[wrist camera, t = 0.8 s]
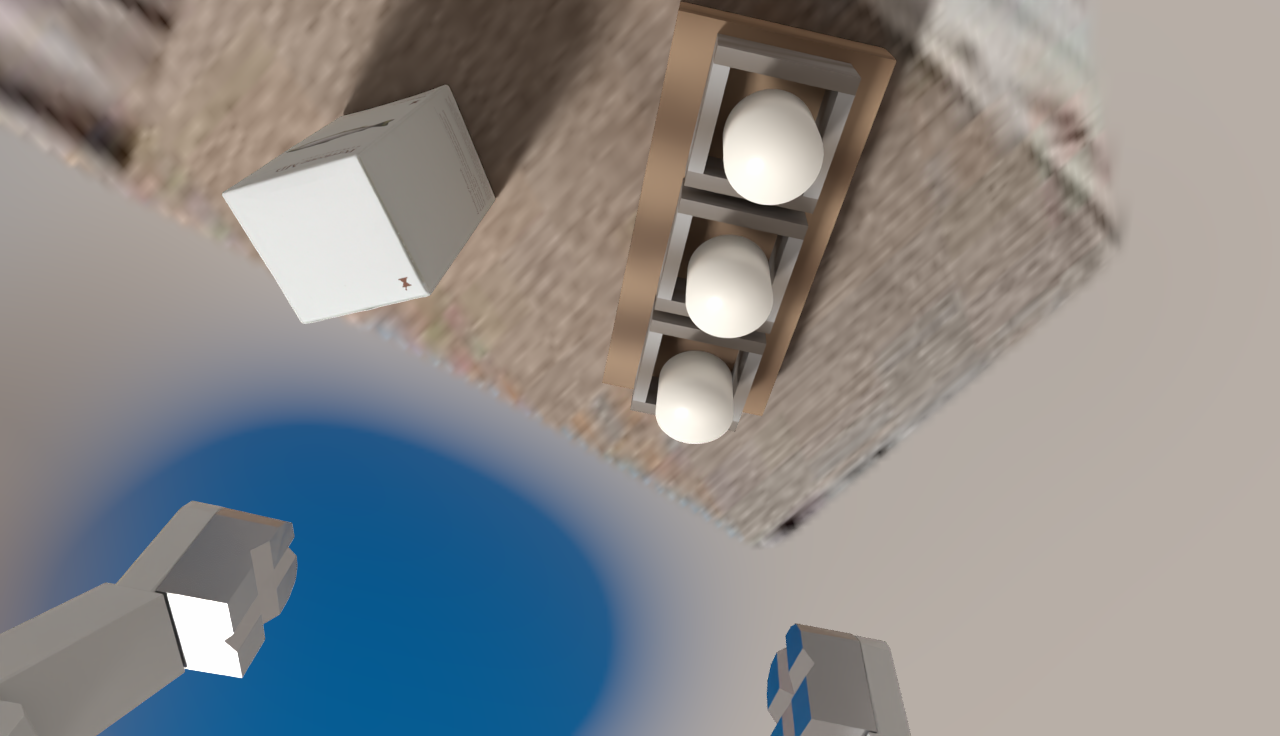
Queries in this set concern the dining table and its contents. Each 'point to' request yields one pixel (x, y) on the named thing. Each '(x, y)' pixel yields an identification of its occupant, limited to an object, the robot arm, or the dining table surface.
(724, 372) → the knob far
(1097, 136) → the dining table surface
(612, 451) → the dining table surface
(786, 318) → the knob mount
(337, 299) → the supplement box
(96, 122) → the dining table surface
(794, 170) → the knob near
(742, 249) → the knob middle
